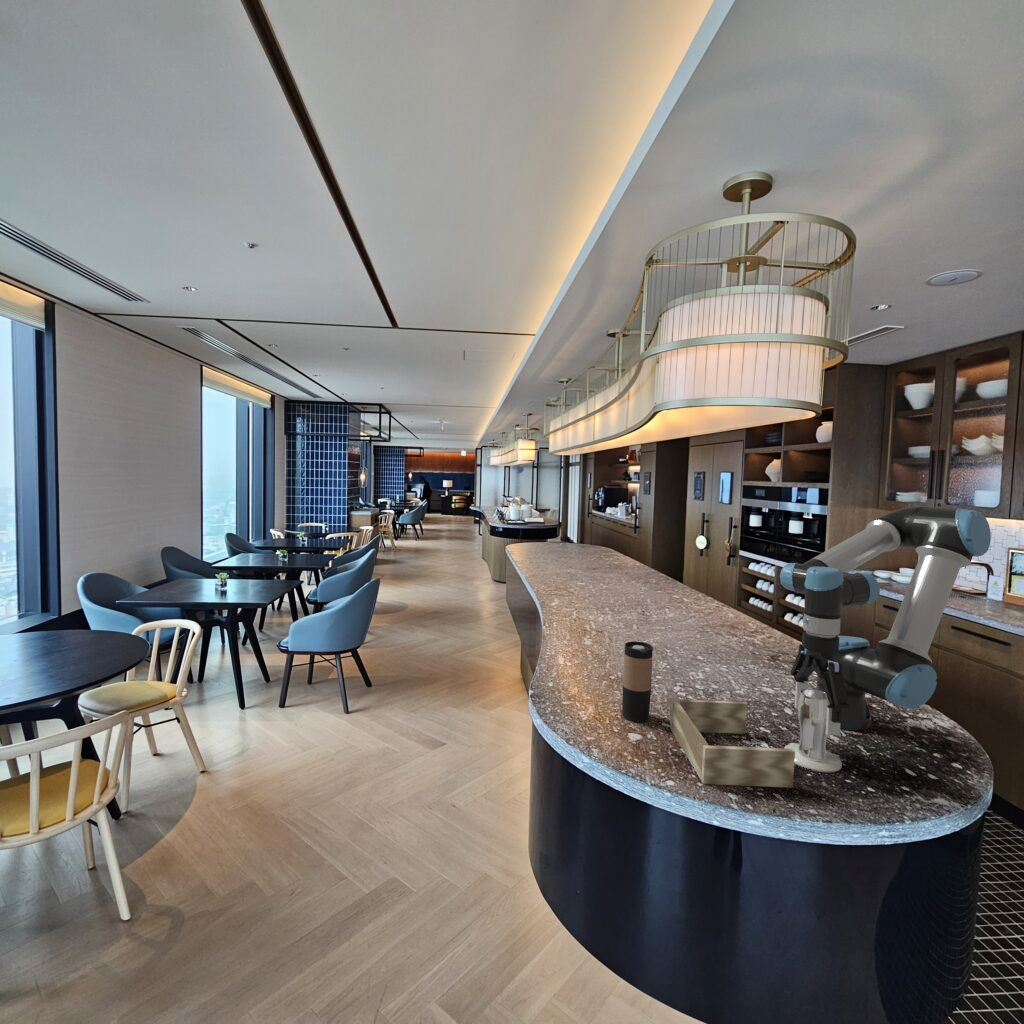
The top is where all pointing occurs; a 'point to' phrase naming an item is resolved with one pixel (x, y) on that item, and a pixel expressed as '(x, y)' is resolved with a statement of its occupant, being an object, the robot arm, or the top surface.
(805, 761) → the coaster
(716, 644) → the top surface
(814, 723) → the beer glass
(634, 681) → the travel mug
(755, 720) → the top surface
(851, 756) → the top surface
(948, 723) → the top surface
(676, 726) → the open side box
